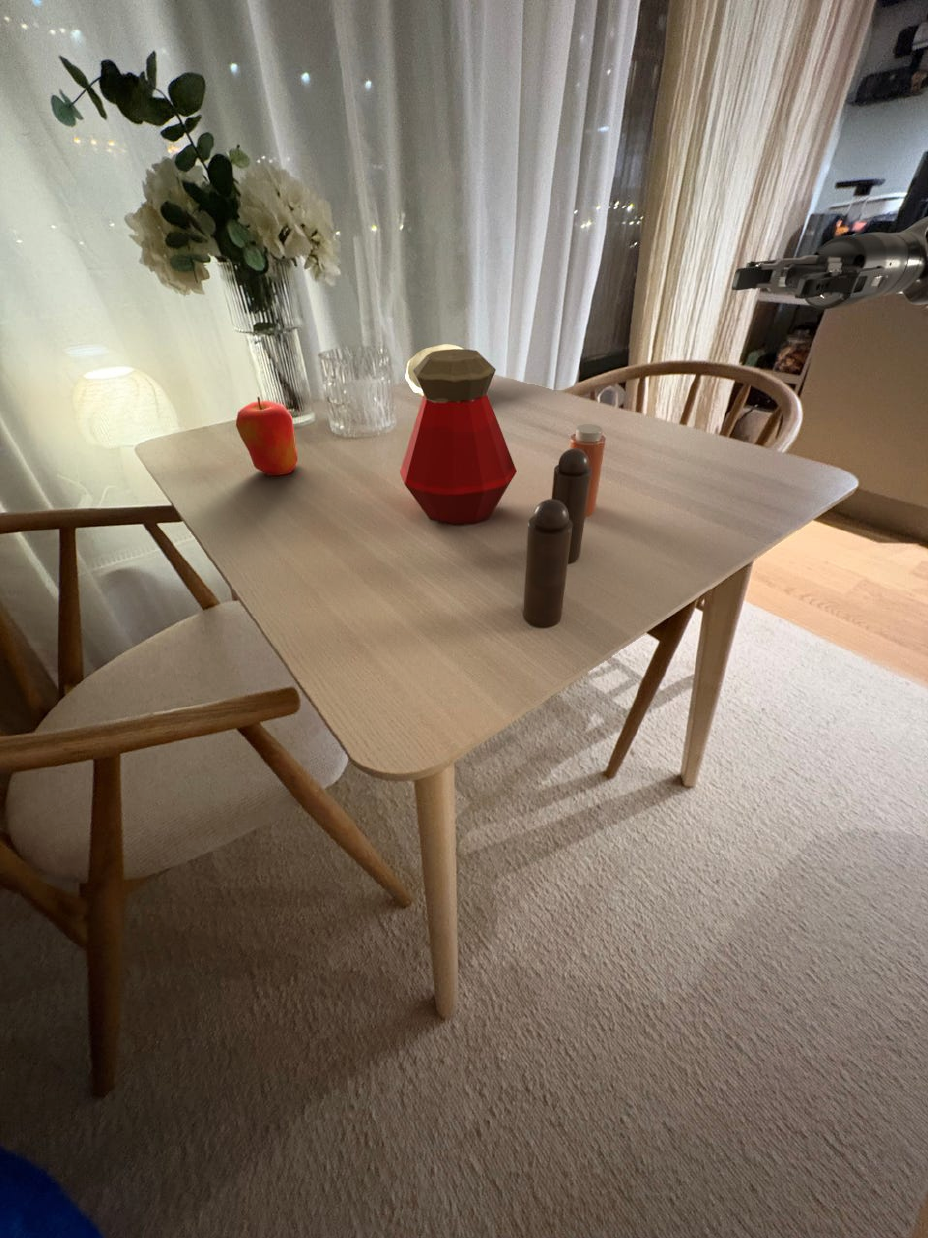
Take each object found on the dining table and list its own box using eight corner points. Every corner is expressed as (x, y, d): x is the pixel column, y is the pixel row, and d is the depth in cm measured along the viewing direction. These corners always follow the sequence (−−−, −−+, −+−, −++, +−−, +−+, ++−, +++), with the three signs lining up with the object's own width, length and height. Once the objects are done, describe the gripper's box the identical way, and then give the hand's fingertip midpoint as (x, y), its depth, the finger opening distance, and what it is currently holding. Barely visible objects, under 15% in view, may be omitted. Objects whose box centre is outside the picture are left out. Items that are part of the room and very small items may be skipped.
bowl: (398, 410, 104) (392, 358, 97) (421, 391, 114) (417, 342, 107) (466, 415, 100) (464, 361, 94) (483, 394, 110) (483, 344, 104)
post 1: (564, 607, 53) (578, 493, 44) (557, 631, 50) (571, 515, 41) (527, 600, 54) (535, 488, 45) (518, 623, 51) (524, 508, 42)
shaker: (596, 503, 70) (609, 423, 63) (592, 518, 67) (605, 436, 60) (566, 499, 71) (574, 421, 64) (560, 514, 68) (568, 433, 61)
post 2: (581, 548, 61) (597, 444, 53) (576, 566, 58) (591, 458, 50) (550, 544, 62) (559, 440, 54) (543, 561, 60) (552, 454, 51)
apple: (245, 469, 83) (220, 396, 76) (293, 456, 87) (273, 385, 79) (263, 486, 78) (238, 409, 70) (312, 471, 82) (294, 397, 74)
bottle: (396, 535, 65) (373, 371, 52) (411, 489, 75) (395, 343, 62) (515, 536, 64) (522, 369, 51) (514, 489, 74) (520, 340, 61)
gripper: (813, 231, 65) (726, 240, 59) (933, 235, 55) (841, 245, 50) (790, 298, 70) (708, 312, 64) (897, 313, 60) (810, 330, 55)
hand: (766, 283), depth 57 cm, fingers open, 8 cm apart
